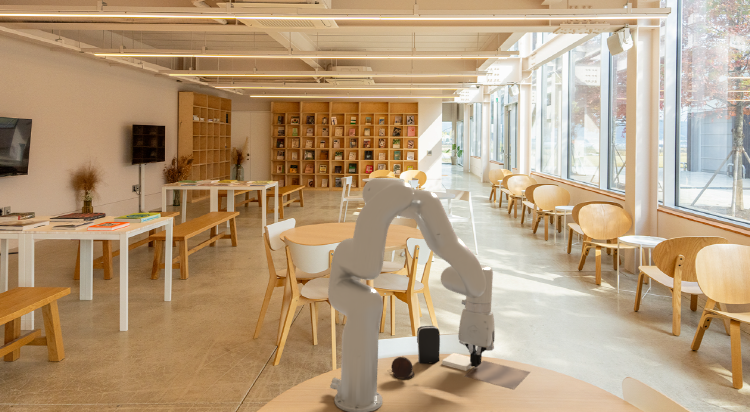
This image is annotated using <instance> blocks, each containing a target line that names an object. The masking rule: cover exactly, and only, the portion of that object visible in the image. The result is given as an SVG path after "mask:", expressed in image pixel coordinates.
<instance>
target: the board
mask: <svg viewBox="0 0 750 412" xmlns="http://www.w3.org/2000/svg"><path fill="white" fill-rule="evenodd" d="M530 373H531V371H528V370H523V369H521V368H520V369H519V368H515V367H511V366H507V365H504V364H500V363H499V364H498V363H494V362H493V361H492V362H490V361H487V360H481V364H480V365H479V366H478V367H474V368H471V370H470V371H468V372H467V373H465V374H464V377H466V378H470V379H473V380H476V381H480V382H483V383H487V384H492V385H495V386H500V387H504V388H507V389H510V390H515V389H516V388H518V386H519V385H520V384H521V383H523V380H525V378H527V376H528V375H529V374H530Z"/></svg>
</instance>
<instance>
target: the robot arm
mask: <svg viewBox="0 0 750 412" xmlns="http://www.w3.org/2000/svg"><path fill="white" fill-rule="evenodd" d="M361 193H362V194H361V195H362V199H363V201H364V203H365V204H364V205H363V207H362V208H361V210H360V211H359V213H358V215H357V217H356V221H355V226H354V231H353V238H345V239H343V240H342V241H340V242H339V243H338V244H337V246H336V247H335V248H334V251H333V252H332V253H333V254H332V259H331V264H330V272H329V279H328V290H327V295H328V298H327V299H328V302H329V304H330V306H331V307H332V308H333V309H334V310H335V311H338V312H339V313H341V314H342V315H344V316H345V317H346V320H345V324H344V326H343V330H342V335H341V363H340V364H341V366H340V369H341V370H340V372H341V374H340V379H339V378H336V377H333V378H332V379H331V383H330V385H329V388H330V389H333V390H336V392H337V393H336V394H335V397H334V403H335V405H336V407H337V408H339V409H340V410H343V411H346V412H373V411H376V410H377V409H379V408H381V407H382V404H383V396H382V394H380V393H379V392H378V368H379V367H378V365H379V364H378V361H379V333H380V332H379V331H380V324H381V319H382V315H383V310H384V302H383V298H382V295H381V294H380V293H379V291H378V290H377V289H375V288H374V287H372V286H370V285H368V284H366V283H363V282H362V281H361V280H365V281H372V280H375V279H377V278H378V277H379V276H380V275H381V272H382V270H383V267H384V266H383V265H384V260H385V259H384V258H385V250H386V244H387V237H388V233H389V232H388V231H389V227H390V225H391V223H393V221H394V219H395V218H396V217H397V216H398V217H401V218H402V217H403V218H405V219H410V220H414V221H415V223H416V225H417V227H418V229H419V231H420V233H421V236H422V237H423V239H424V241H425V244H426V246H427V248H428V249H430V250H431V251H432V252H433V253H434V254H435V255H437V256H438V257H439V258H441V259H442V260H444V261H445V262H446V263H447V264H449V265H450V266H448V267H446V268H445V269H443V270H442V273H441V275H440V283H441V284H442V286H443V287H444V288H445V289H447V290H449V291H450V292H454V293H456V294H460V295H462V296H465V299H462V300H461V305H464V308H463V309H462V311H461V315H460V320H459V327H458V340H459V344H461V345H463V346H465V347H466V348H467V350H468V352H469V355H470V356H469V357H470V362H471V366H472V367H474V368H475V367H478V366H479V365H480V364H481V362H482V358H483V357H482V355H483V353H484V352H485V351H487V352H488V351H490V352H491V351H493V350H494V349H495V344H494V343H495V340H496V339H495V336H496V335H495V334H496V333H495V332H496V331H495V330H496V329H495V319H494V318H495V317H494V312H493V311H492V297H493V296H492V294H493V278H494V276H493V275H494V272H493V268H492V267H490V266H488V265H484V264H480V261H479V260H478V257H476V255H475V254H474V252H472V250H471V249H470V248H469V247H468V246H467V245H466V243H464V242H463V240H462V239H461V238H460V237H459V236H458V235H457V234H456V232H455V231H454V227H453V226H452V224H451V221H450V219H449V217H448V215H447V212H446V211H445V208H444V206H443V203H442V202H441V200H440V198H439V196H438V195H437V194H436V193H434V192H432V191H430V190H423V189H414V188H413V187H412V186H411V185H410V184H409V183H408V182H405V181H403V180H398V179H391V178H389V179H388V178H372V179H370V180H369V181H367V182H366V183H365V184H364V186H363V188H362V192H361ZM472 367H471V368H472Z"/></svg>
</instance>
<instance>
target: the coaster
mask: <svg viewBox="0 0 750 412" xmlns="http://www.w3.org/2000/svg"><path fill="white" fill-rule="evenodd" d="M441 365H443V366H446V367H450V368H454V369H458V370H461V371H465V372H467V371H468V370H469V369H470V368H471V369H472V366H471V362H470V356H468V355H465V354H460V353H456V352H452V353H451V354H449V355H448V356H446V357H445V358H443V359H442V361H441Z"/></svg>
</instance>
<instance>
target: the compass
mask: <svg viewBox="0 0 750 412" xmlns="http://www.w3.org/2000/svg"><path fill="white" fill-rule="evenodd" d="M390 368H391V371H390V369H387V372H389V373H393V377H395V378H397V379H400V380H409V378H410V379H412V378H414V376H415V373H414V371H413V363H412V361H411V360H410V359H409V358H407V357H405V356H404V355H402V356H397V357H396V358H394V359H393V361H392V363H391V367H390Z"/></svg>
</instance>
